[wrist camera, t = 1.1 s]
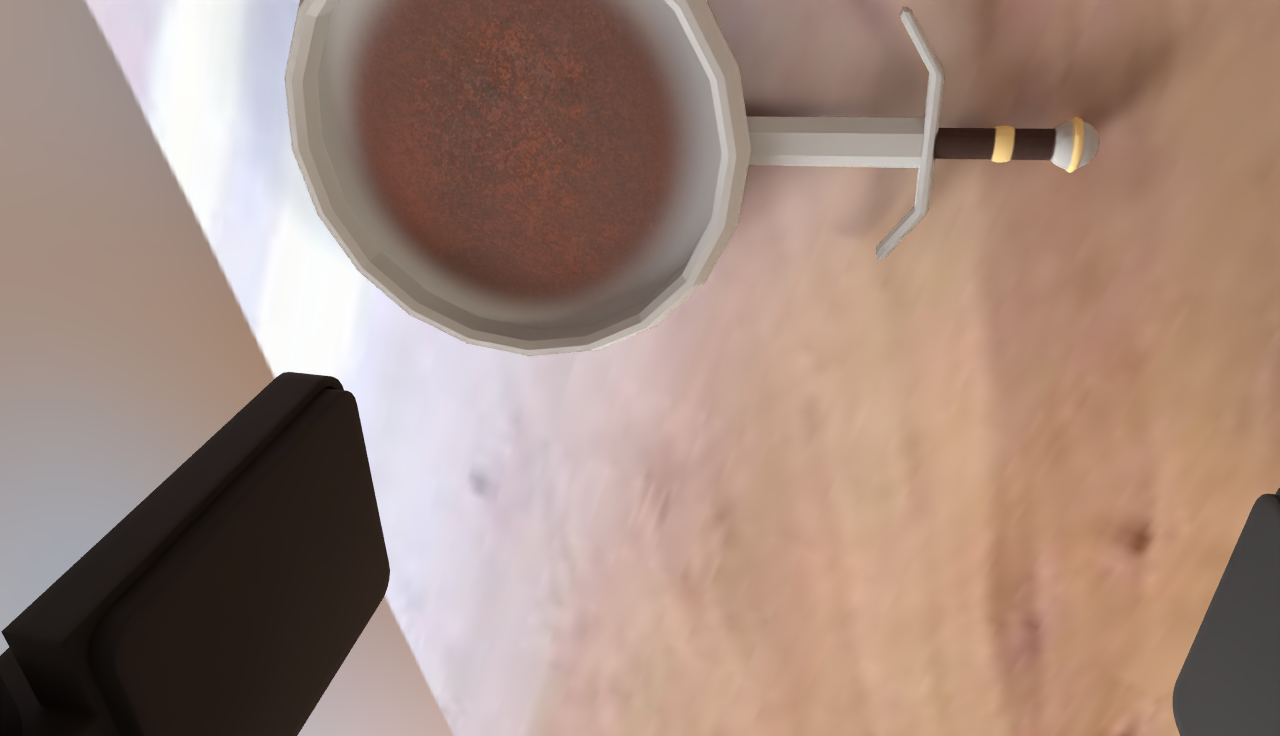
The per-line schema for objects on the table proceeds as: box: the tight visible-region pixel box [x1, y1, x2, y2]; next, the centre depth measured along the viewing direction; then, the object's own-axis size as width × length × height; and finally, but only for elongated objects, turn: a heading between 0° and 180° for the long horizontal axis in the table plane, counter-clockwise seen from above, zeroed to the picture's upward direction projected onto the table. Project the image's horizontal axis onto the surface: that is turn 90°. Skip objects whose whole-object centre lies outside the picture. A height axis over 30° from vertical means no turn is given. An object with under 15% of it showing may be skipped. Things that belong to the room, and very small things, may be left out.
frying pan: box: [285, 0, 1099, 356], centre depth 31 cm, size 17×3×28 cm
